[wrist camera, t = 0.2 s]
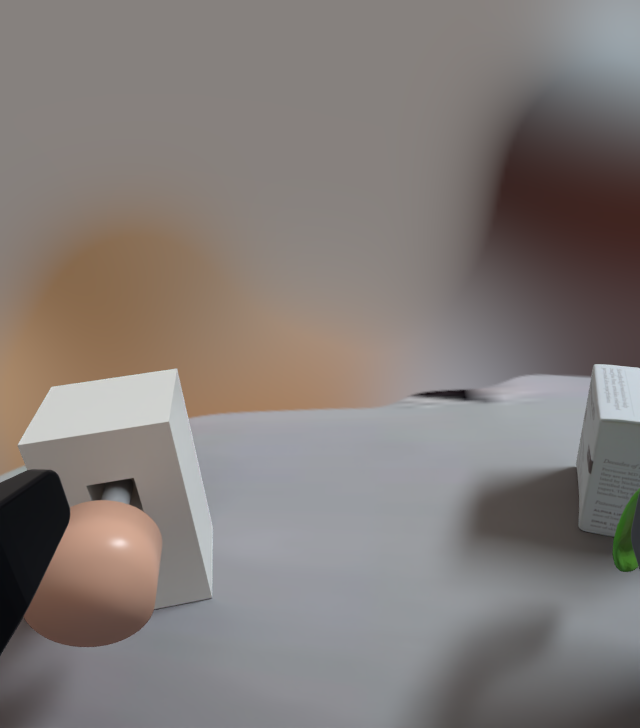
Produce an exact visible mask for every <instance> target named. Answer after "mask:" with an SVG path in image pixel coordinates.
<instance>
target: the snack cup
mask: <svg viewBox="0 0 640 728" xmlns="http://www.w3.org/2000/svg"><path fill="white" fill-rule="evenodd" d="M639 492H640V488H639V489H638V490H637V491H636V492H635V494H634V495H633V496H632V497H631V499H630V501H629V502H628V504H627V505H626V507H625V509H624V511H623V513H622V515H621V518H620V521H619V523H618V525H617V528H616V533H615V536H614V542H613V559H614V563H615V565H616V567H617V568H618V569H619V570H620V571H623V572H629V571H633V570H635V569H636V568H637V567H638V563H637V560H636V557H635V554H634V550H633V547H632V542H631V528H632V524H633V519H634V514H635V509H636V504H637V499H638V495H639Z"/></svg>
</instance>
